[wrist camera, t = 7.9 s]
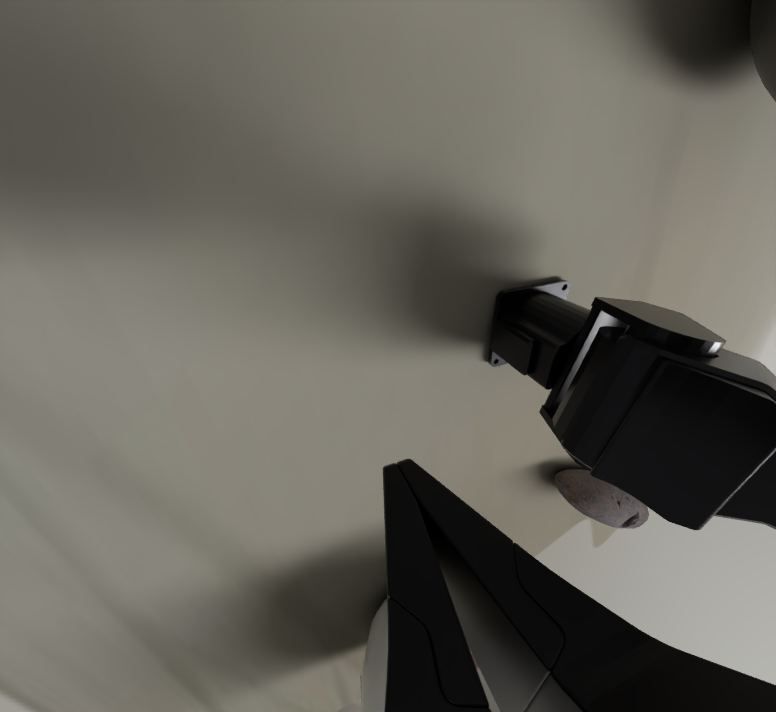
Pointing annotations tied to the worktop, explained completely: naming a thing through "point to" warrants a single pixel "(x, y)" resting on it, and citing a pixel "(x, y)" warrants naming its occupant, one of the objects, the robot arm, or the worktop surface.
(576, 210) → the worktop surface
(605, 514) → the perforated stone tool
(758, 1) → the coal bowl
